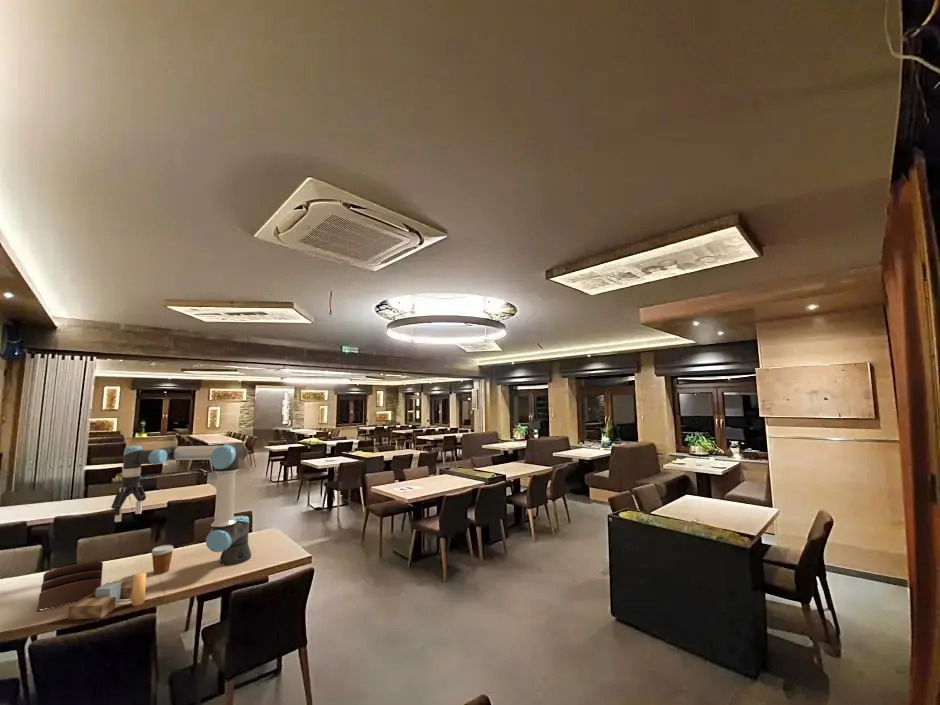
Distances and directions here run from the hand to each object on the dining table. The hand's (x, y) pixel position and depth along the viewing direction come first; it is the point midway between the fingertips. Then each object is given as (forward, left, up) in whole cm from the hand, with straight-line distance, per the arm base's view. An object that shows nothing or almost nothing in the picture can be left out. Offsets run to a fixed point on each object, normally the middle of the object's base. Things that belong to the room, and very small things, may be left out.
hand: (128, 517), depth 213 cm
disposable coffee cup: (-18, 0, -28) cm, 34 cm away
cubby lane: (-18, +33, -28) cm, 47 cm away
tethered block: (-24, +33, -28) cm, 49 cm away
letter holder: (+3, +27, -28) cm, 39 cm away
